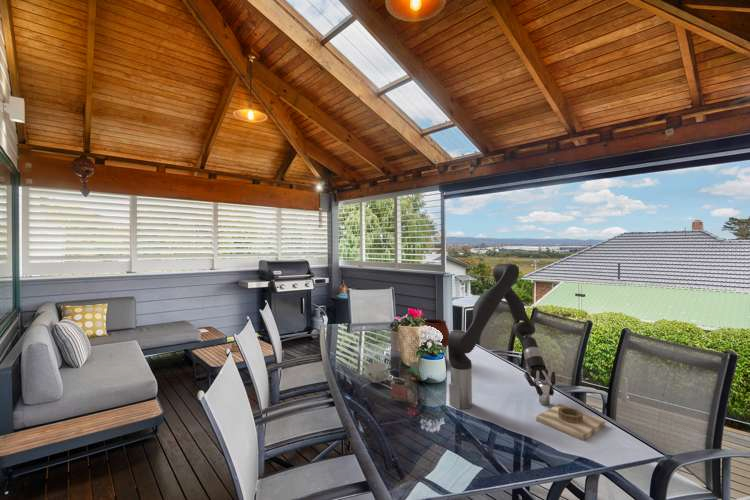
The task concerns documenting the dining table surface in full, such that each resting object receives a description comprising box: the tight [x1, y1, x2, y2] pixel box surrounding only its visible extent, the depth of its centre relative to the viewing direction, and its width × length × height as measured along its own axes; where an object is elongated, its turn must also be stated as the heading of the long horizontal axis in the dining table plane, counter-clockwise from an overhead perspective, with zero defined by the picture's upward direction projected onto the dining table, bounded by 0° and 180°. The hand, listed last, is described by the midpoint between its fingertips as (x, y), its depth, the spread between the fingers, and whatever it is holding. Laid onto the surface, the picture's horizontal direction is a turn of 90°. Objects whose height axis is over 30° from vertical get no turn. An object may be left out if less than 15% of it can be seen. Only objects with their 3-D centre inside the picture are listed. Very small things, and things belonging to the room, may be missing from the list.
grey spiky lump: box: [364, 361, 389, 384], centre depth 185 cm, size 15×12×8 cm
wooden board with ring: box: [535, 403, 606, 442], centre depth 140 cm, size 18×18×4 cm
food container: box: [408, 360, 421, 382], centre depth 187 cm, size 12×6×10 cm, turn 117°
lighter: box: [390, 376, 409, 402], centre depth 164 cm, size 8×3×10 cm, turn 65°
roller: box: [538, 382, 551, 405], centre depth 157 cm, size 4×4×8 cm
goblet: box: [422, 318, 450, 349], centre depth 217 cm, size 19×19×25 cm
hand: (546, 394), depth 155 cm, fingers closed on roller, 4 cm apart
